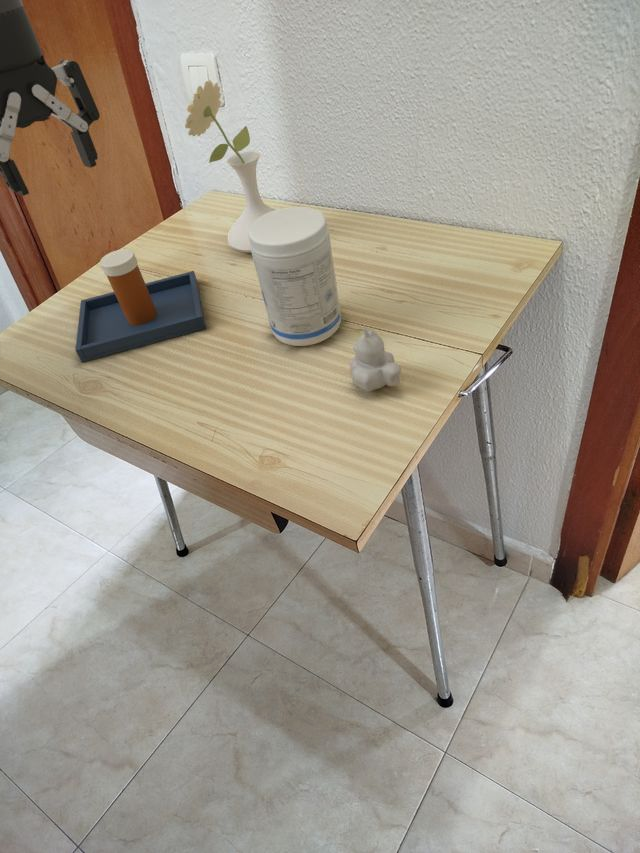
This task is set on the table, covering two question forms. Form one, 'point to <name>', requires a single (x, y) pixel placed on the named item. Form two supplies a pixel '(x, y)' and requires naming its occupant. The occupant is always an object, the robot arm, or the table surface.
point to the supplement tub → (296, 274)
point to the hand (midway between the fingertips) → (57, 179)
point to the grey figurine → (373, 363)
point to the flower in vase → (230, 161)
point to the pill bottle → (129, 286)
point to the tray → (112, 333)
